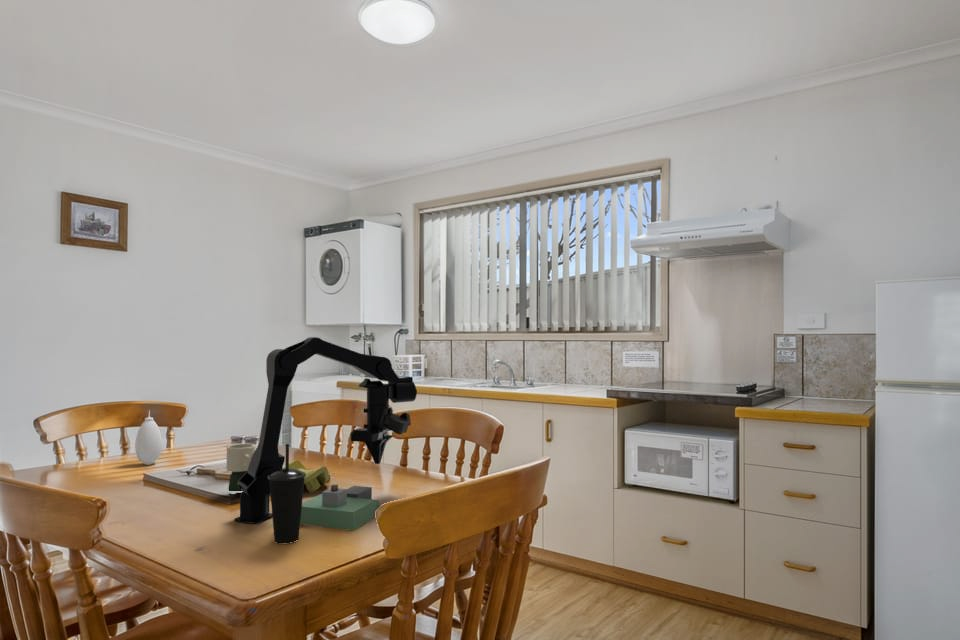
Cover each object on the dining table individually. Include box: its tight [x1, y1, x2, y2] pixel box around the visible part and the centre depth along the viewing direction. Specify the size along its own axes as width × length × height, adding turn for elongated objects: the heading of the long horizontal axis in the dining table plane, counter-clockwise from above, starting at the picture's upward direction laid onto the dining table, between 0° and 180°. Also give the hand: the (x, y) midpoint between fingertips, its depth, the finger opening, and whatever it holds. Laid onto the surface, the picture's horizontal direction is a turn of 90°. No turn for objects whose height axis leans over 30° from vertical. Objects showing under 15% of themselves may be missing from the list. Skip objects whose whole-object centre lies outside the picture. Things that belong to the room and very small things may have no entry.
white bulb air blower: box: [134, 409, 163, 466], centre depth 201 cm, size 8×8×18 cm
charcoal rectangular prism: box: [346, 485, 373, 499], centre depth 150 cm, size 7×5×5 cm
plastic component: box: [282, 459, 330, 493], centre depth 172 cm, size 20×7×10 cm
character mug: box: [226, 443, 256, 491], centre depth 164 cm, size 11×7×13 cm, turn 42°
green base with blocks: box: [300, 484, 380, 531], centre depth 145 cm, size 17×15×8 cm
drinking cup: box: [268, 443, 306, 544], centre depth 128 cm, size 8×8×20 cm
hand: (377, 463), depth 161 cm, fingers closed
